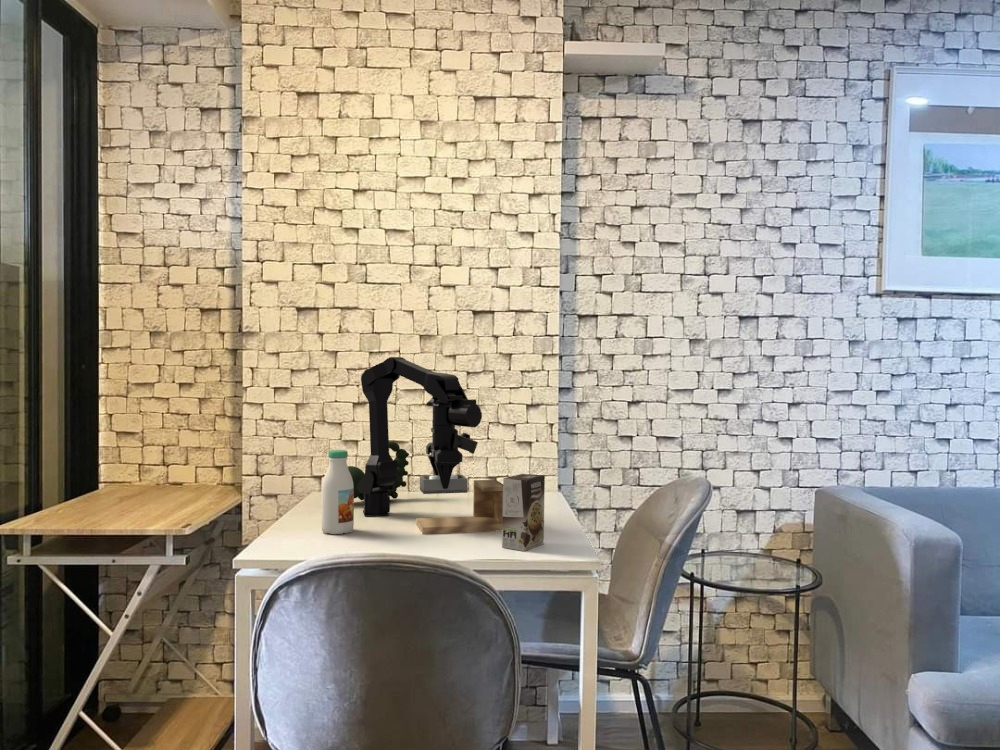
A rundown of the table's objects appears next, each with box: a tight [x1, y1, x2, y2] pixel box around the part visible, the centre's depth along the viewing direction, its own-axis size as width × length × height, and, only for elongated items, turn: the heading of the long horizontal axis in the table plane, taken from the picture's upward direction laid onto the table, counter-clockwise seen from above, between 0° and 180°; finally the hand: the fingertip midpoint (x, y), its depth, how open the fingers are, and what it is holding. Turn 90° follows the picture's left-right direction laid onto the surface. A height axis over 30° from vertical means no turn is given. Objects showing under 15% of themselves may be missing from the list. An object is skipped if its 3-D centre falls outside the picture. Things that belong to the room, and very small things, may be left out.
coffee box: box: [501, 473, 546, 552], centre depth 181 cm, size 9×6×16 cm
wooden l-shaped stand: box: [415, 479, 503, 535], centre depth 200 cm, size 21×11×11 cm, turn 104°
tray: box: [419, 474, 468, 495], centre depth 198 cm, size 11×6×4 cm, turn 104°
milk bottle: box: [321, 449, 355, 535], centre depth 193 cm, size 8×8×20 cm
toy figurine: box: [347, 440, 410, 501], centre depth 231 cm, size 9×19×25 cm
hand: (443, 486), depth 198 cm, fingers closed on tray, 6 cm apart
